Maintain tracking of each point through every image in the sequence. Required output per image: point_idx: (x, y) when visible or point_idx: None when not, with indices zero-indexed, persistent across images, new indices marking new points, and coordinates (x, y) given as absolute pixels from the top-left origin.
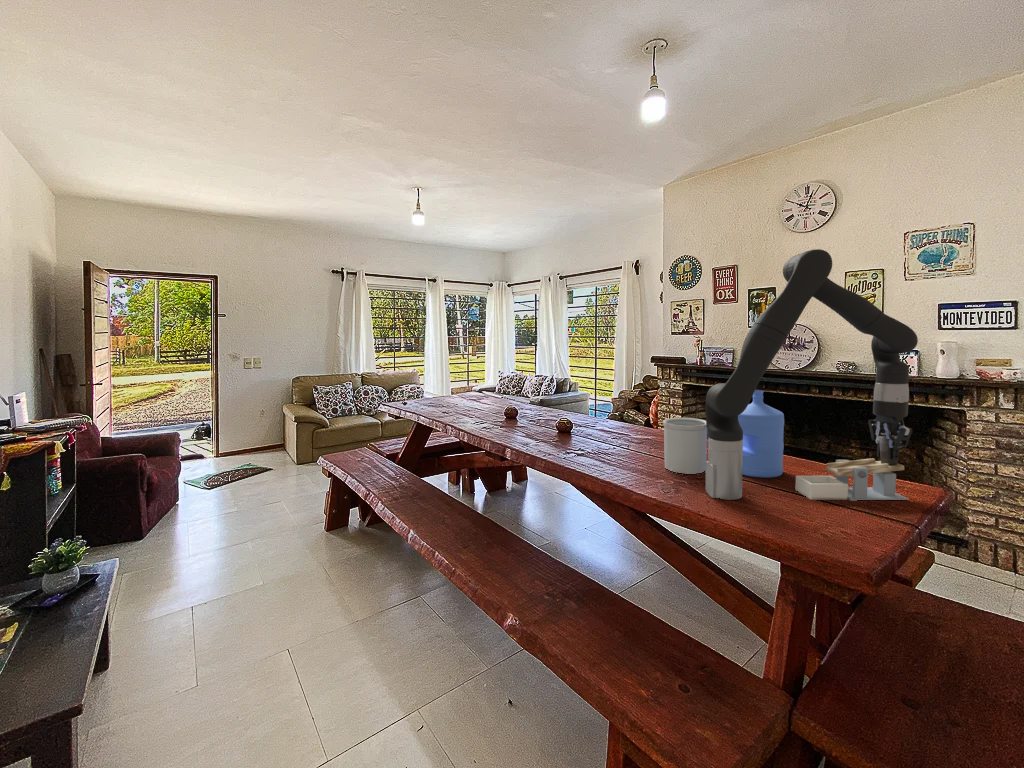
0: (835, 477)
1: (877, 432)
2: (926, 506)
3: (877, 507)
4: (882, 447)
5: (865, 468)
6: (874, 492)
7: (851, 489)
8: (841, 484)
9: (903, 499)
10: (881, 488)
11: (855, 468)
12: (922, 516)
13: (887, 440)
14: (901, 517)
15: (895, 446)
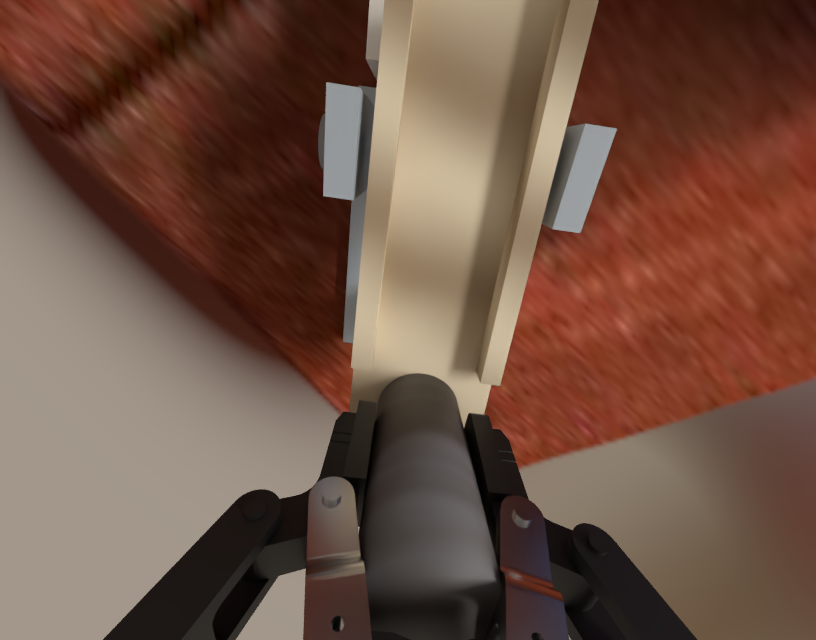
0: None
1: (536, 631)
2: (288, 347)
3: (270, 152)
4: (416, 457)
5: (324, 173)
6: None
7: None
8: (370, 3)
9: (344, 322)
10: None
11: (332, 83)
12: (179, 251)
13: (371, 544)
14: (152, 156)
15: (262, 495)
